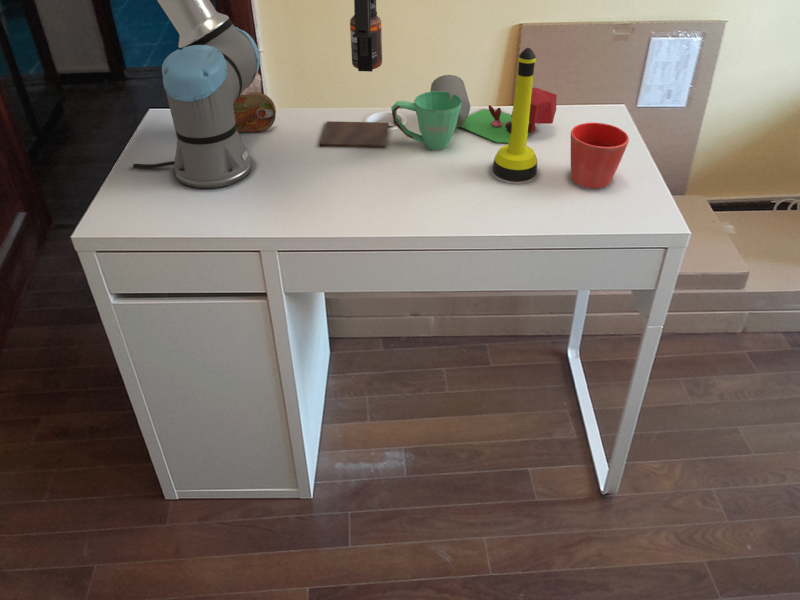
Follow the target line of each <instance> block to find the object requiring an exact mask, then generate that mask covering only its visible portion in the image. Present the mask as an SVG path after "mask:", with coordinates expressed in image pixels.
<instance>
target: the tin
mask: <svg viewBox="0 0 800 600" xmlns="http://www.w3.org/2000/svg"><path fill="white" fill-rule="evenodd" d="M233 109H234V115H235V121H236V127H237V131H238V133H262V132H265V131H267V130H269V129H270V128H272V126H273V125H274V123H275V121H276V117H277V116H276V114H277V109H276V106H275V103H274V101H273V100H272V99H271V97H270V96H268V95H267V94H265V93H263V92H259V91H258V92H257V91H252V92H243V93H242V94H241V95H240V96H239V97H238V99H237V100H236V101H235V102H234V103H233Z"/></svg>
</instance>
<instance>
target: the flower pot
mask: <svg viewBox="0 0 800 600" xmlns="http://www.w3.org/2000/svg"><path fill="white" fill-rule="evenodd" d="M629 141H630V137H629V135H628V133H627V132H626V131H625V130H623V129H621V128H620V127H618V126H615V125H612V124H608V123H602V122H584V123H583V122H582V123H579V124H577V125H575V126H573V128H572V129H571V131H570V177H571V180H572V181H573V182H574V183H575V184H576V185H578V186H580V187H583V188H586V189H593V190H594V189H597V190H598V189H602V188H606V187H608V186H609V185H610V184H611V182H612V181H613V178H614V176H615V174H616V172H617V170H618V168H619V165H620V163H621V161H622V159H623V156H624V154H625V152H626V149H627V147H628V144H629Z"/></svg>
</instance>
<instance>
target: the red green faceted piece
mask: <svg viewBox="0 0 800 600" xmlns="http://www.w3.org/2000/svg"><path fill="white" fill-rule="evenodd" d="M557 97H558V95H557V94H556V93H553V92H551V91H547V90H545V89H541V88H538V87H536V86H535V87H532V94H531V104H530V114H529V124H528V135H530V134H532V133H534V132H536V124H538V125H539V124H545V125H546V124H553V123H554V119H555V115H556V112H557V100H558V99H557ZM512 112H513V110H512V111H511V113H512ZM511 120H512V114H511V115H510V114H508V113H507V112H503V111H502V109H501V107H497V108H496V109H494V107H493V106H492V105H490V104H489V105H488V109H480V110H478V111H476V112H473V113H472V114H470V115H468V116H467V118H466V120H465V122H464V123H463V124H462V126H460V127H459V128H461V129H464V130H465V131H468V132H471V133H473V134H475V135H477V136H479V137H482V138H484V139H487V140H489V141H492V142H494V143H498V144H499V143H500V144H509V136H510V133H509V132H508V131H507V125H508V124H509V123H510V122H511ZM528 135H527V136H528Z"/></svg>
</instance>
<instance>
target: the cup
mask: <svg viewBox="0 0 800 600" xmlns="http://www.w3.org/2000/svg"><path fill="white" fill-rule="evenodd" d="M429 90H430V91H429V92H433V91H442V92H448V93H449V95H450V100H451V99H452V96H453V94H455V95H457V96H458V97H459V98H461V101H462V105H461V109H460V112H459V116H458V120H457V124H456V127H455V130H457V129H459V128H461V127H460V126H462V124H463V123H464V122H465V120H466V118H467V116H469V114H470V111H471V103H470V99H469V96H468V93H467V88H466V85H465V81H464V80H463V79H462V78H461V77H460V76H457V75H453V74H444V75H441V76H438V77H436V78H435V79H433V81H432V82H431V85H430V89H429Z"/></svg>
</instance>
